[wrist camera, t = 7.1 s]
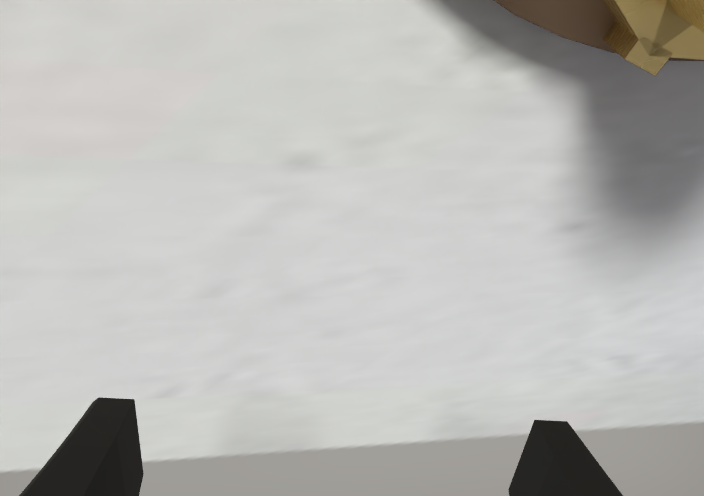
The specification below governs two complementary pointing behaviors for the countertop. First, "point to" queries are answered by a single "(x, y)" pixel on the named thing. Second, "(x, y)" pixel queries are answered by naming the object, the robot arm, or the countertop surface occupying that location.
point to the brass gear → (656, 31)
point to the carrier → (569, 19)
